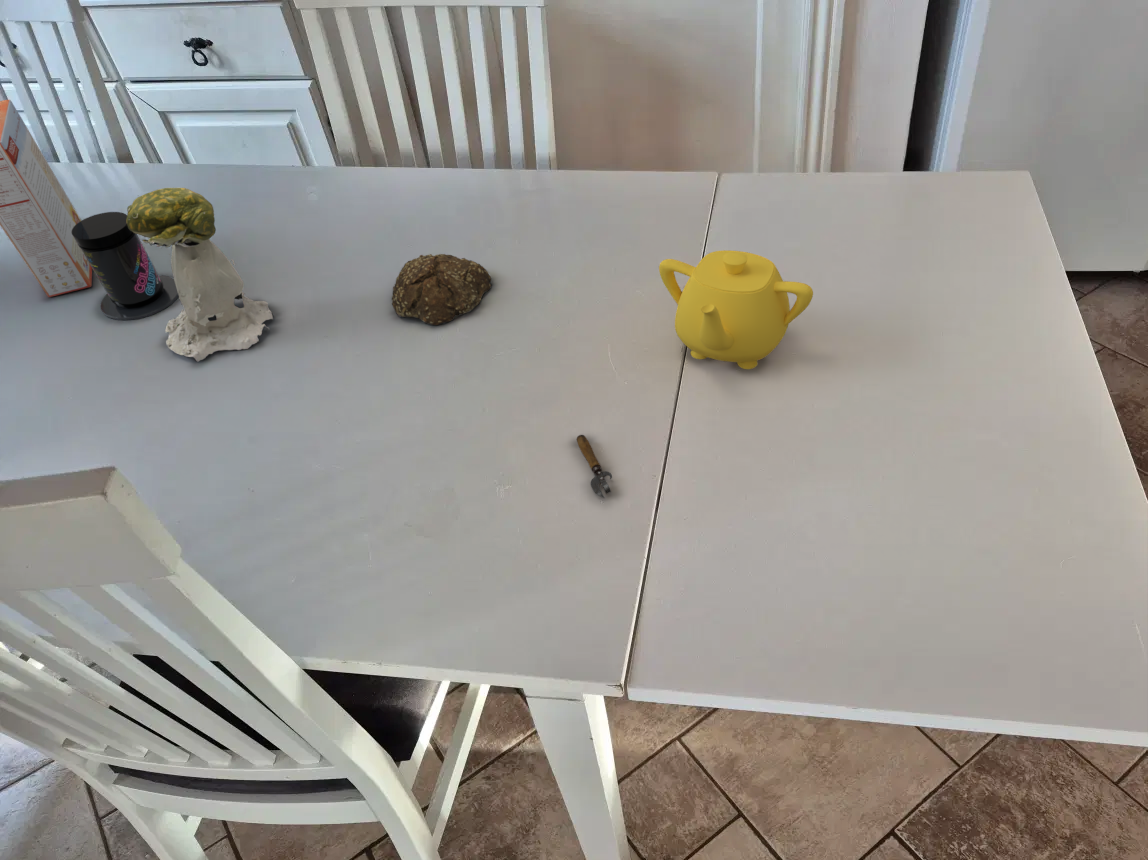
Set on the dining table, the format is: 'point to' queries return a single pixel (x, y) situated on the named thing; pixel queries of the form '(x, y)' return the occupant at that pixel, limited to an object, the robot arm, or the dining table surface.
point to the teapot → (733, 305)
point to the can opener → (594, 466)
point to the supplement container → (118, 259)
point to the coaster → (140, 312)
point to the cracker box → (38, 210)
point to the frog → (198, 274)
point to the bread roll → (439, 288)
